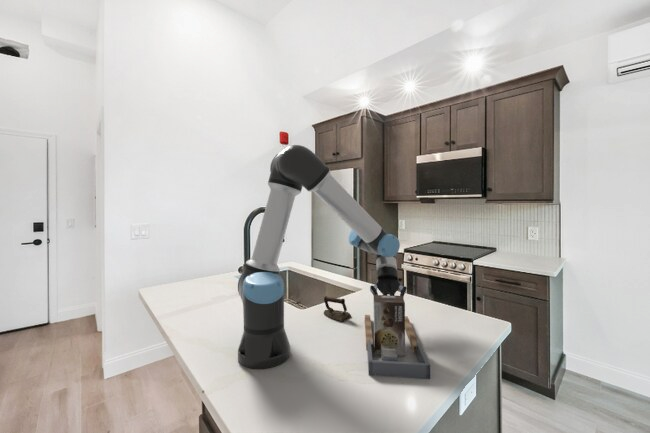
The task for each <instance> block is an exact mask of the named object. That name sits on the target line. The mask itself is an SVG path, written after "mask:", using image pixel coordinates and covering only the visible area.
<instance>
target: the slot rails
mask: <svg viewBox="0 0 650 433" xmlns="http://www.w3.org/2000/svg"><path fill="white" fill-rule="evenodd" d="M371 320H372V319H371V315H370V314H364V329H365V347H366V349H365V350H366V351H367V339H371V349H372V352H374V337H373V331H372V322H371ZM405 334H406V336H407V339H408V342H409V344H410V347H411V349H412V352H413V354H416V342H419V340H418V337H417V334H416V333H415V331H414V328H413V326H412V323H411V321H410V319H409V317H408V316H407V315H405Z"/></svg>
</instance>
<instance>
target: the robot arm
mask: <svg viewBox="0 0 650 433" xmlns="http://www.w3.org/2000/svg"><path fill="white" fill-rule="evenodd" d="M269 168H270V169H269V170H270V171H269V172H270V174H269V178H268V182H267V185H268V187H269V189H270V191H269V195H268V198H267V202H266V205H265V209H264V212H263V216H262V220H261V223H260V226H259V230H258V235H257V237H256V238H257V239H256V242H255V246H254V249H253V253H252V256H251V258H249V259H248V260H246V262H245V264H244V267H243V272H242V273H241V274H240V277H239V279H238V282H237V291H238V295H239V296H240V299H241V302H242V307H243V332H242V336H241V338H240V339H241V340H240V343H239V346H238V348H237V360H238V363H239V364H240V365H242V366H243V367H246V368H249V369H258V370H259V369H269V368H270V369H271V368H273V367H276V366H278V365H281V364H282V363H284V362H286V361H287V360H288V358H290V356H291V344H290V342H289V338H288V335H287V332H286V329H285V294H284V293H285V284H284V280H283V278H282V276H281V275H279V274H280V268H279V266H278V261H279V257H280V254H281V251H282V250H281V249H282V246H283V243H284V239H285V236H286V232H287V228H288V223H289V220H290V217H291V213H292V210H293V206H294V202H295V198H296V196H297V195H300V194H301V193H302V190H303V189H302V188H305V190H306V191H307V192H312V193H314V194H315V195H316V196H317V197H318V198H319V199H320V200H321V201H322V202H323V203H324V204H326V206H327V207H328V208H329V209H331V210H332V211H333V213H334V214H335V215H337V217H338V218H340V220H341V221H343V222H344V224H346V226H348V227H349V228H350V229H351V231H350V233H349V236H348V242H349V244H350V245H351V246H353V247H355V248H358V249H360V250H362V251H365V252H366V253H370V254H371V255H374V257H375V262H376V282H375V284H374V285H370V289H369V291H370V292H371V294H372V295H373V296H372V297H374V295H379V293H378V290H379V292H380V293H381V295H391V296H396V295H395V294H396V293H397V292H398V291H399V293H400V294H399V296H403V299H404V297H405V294H406V292H407V289H408V288H407V286H403V285H401V282H400V281H399V276H398V275H399V274H398V264H397V254H398V252H399V251H400V247H401V244H400V241H399V238H398V237H397V236H396V235H393V234H391V233H388V232H387V231H386V230H385V229H384V228H383V227H382V226H381V225H380V224H379V223H378V222H377V221H376V220H375V219H374V218H373V217H372V216H371V215H370V214H369V213H368V211H366V209H364V208H363V207H362V206H361V204H359V203H358V201H357V200H356V199H355V198H354V197H353V196H352V195H351V193H349V192H348V191H347V190H346V188H344V187H343V186H342V185H341V184H340V183H339V181H337V179H335V178H334V177H333V176H332V174H331V169H330V168H329V166H327V165H326V163H325V162H324V161H323V160H321V158H320V157H319V156H318V155H317V154H315V153H314V152H313V151H312V150H311V149H309V148H308V147H306V146H304V145H301V144H300V145H299V144H293V145H289V146H286V148H284V149H283V150H282V151H280V152H279V153H276V154H275V156H273V159H272V161H271V163H270V167H269Z"/></svg>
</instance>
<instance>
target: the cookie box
mask: <svg viewBox="0 0 650 433" xmlns="http://www.w3.org/2000/svg"><path fill="white" fill-rule="evenodd" d="M405 316H406V303H405V300H404V298H403V296H400V295H395V296H391V295H383V294H378V295H374V296H373V353H374V355H380V356H381V342H390V343H395V347H396V351H397V356H398V357H399V356H402V357H405V356H406V331H405Z"/></svg>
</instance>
